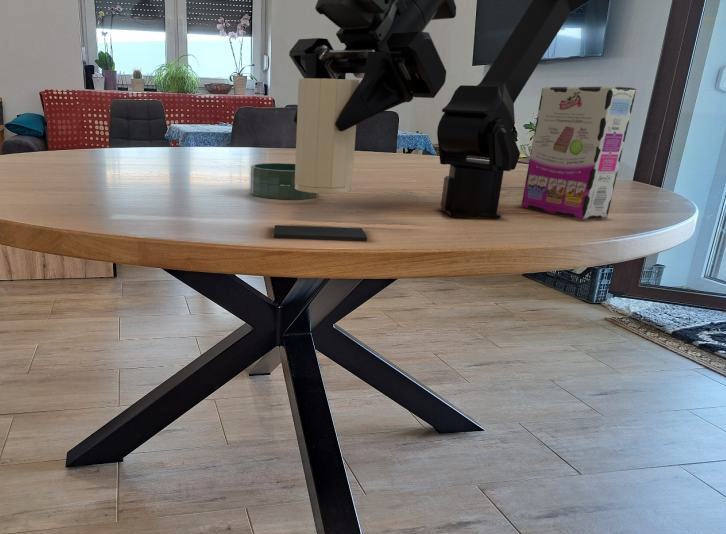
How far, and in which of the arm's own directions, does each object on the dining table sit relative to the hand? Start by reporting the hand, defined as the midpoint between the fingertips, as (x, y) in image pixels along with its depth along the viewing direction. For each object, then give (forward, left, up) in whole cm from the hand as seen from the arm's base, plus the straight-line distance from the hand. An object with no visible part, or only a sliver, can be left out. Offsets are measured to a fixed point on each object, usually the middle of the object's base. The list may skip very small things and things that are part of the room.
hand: (316, 126), depth 66 cm
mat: (-1, -1, -11) cm, 12 cm away
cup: (-1, -1, -6) cm, 7 cm away
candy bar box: (-36, -21, -12) cm, 43 cm away
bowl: (+3, -26, -11) cm, 28 cm away
